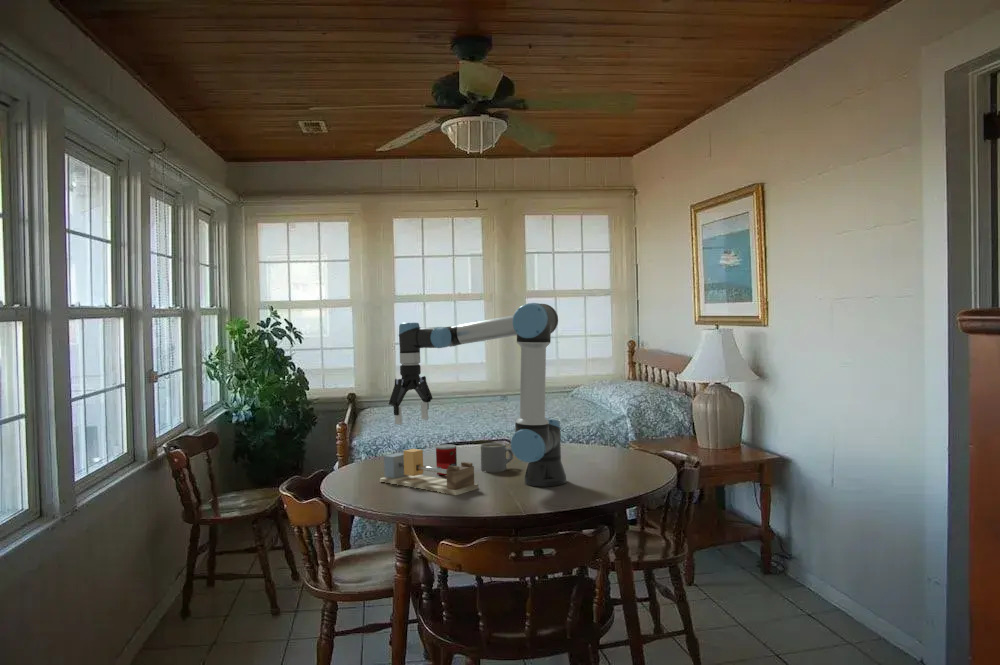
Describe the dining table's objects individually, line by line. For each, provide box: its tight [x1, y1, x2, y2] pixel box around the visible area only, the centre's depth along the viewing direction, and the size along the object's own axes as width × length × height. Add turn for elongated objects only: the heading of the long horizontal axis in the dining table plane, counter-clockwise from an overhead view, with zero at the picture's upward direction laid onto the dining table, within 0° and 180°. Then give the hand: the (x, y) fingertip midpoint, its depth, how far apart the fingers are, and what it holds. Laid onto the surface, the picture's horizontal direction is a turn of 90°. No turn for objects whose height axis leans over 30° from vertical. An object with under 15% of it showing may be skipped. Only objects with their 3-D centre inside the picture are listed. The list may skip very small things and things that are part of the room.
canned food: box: [435, 443, 458, 476], centre depth 275 cm, size 8×8×11 cm
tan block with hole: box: [402, 448, 424, 476], centre depth 261 cm, size 5×5×9 cm
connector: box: [383, 452, 406, 479], centre depth 267 cm, size 5×7×8 cm
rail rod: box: [399, 463, 448, 474], centre depth 257 cm, size 29×4×4 cm, turn 52°
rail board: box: [379, 461, 479, 496], centre depth 257 cm, size 38×12×9 cm, turn 52°
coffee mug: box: [480, 442, 514, 473], centre depth 281 cm, size 13×10×10 cm
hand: (411, 421), depth 261 cm, fingers open, 13 cm apart
